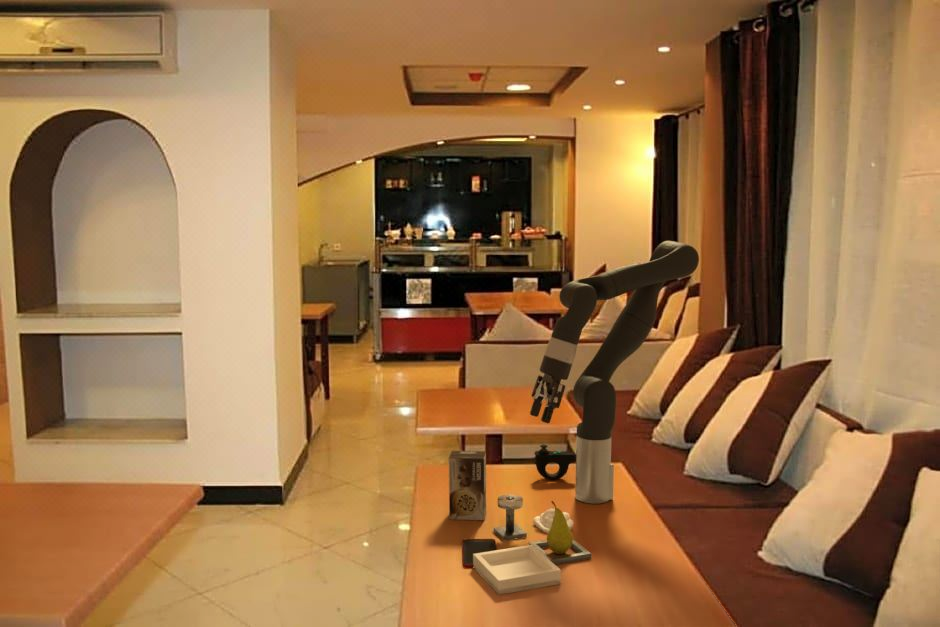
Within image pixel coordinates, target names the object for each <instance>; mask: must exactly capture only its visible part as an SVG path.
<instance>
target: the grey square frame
mask: <svg viewBox="0 0 940 627" xmlns="http://www.w3.org/2000/svg"><path fill="white" fill-rule="evenodd" d="M528 545H533V546H534V547H535V548H536V549H537V550H538V551H539V552H541V553H542V554H543V555H544V556H545V557H546V558H548V559H549V560H550V561H551V562H552V563H553V564H555V565H556V566H557V565H560V564H567V563H568V564H569V563H573V562H574V563H575V562H579V560H580V561H584V560H583V559H586V560H590V559H589V558H591V559H592V552H590V551H589V550H588V549H586V548H585V547H583V545H581V544H580V543H579V542H577V541H576V540H574V539H573V542H572V545H571V547H572V548H571V547H570V548H571V549H572V550H574V551H575V552H576V551H577V552H576V553H572V554H564V555H559V556H551V554H548V553H547V552H546V551H545V550H544V549H543V548H542V547H545V548H549V546H548V543H547V539H544V540H537V541H531V542H528Z"/></svg>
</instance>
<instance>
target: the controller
mask: <svg viewBox="0 0 940 627" xmlns="http://www.w3.org/2000/svg"><path fill="white" fill-rule="evenodd" d="M539 447H540V448H541V449H539V450H535V451H534V456H535V457H534V458H533V461H534V462H533V464H534V465H535V466H536V469H537V470H536V471H537V472H538V473H539V475H540V476H541V477H543V478H544V479H546V480H549V481H557V480H559V479H561V478H563V477H564V476H565V475H567V472H568V471H569V470H568V469H569V466H570V465H571V464H572V463H574V462H575V463H576V451H560V450H559V451H556V450H552V451H551V450H548V449H547V448H548V444H540V446H539ZM551 463H556V464H557V465H558V470H557V471H556V472H555V473H550V472H548V471H547V470H546V468H547V466H548V464H551Z"/></svg>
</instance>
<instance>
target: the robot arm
mask: <svg viewBox="0 0 940 627" xmlns="http://www.w3.org/2000/svg"><path fill="white" fill-rule="evenodd" d="M699 262H700V256H699V252H698V251H697V250H696V248H694V247H693V246H692V245H690V244H687V243H684V242H679V241H678V242H677V241H675V240H664V241H662V242H661V243H659V244H658V245H657V247H655V249H654V251H653V252H652V255H651V256H650V258H649V261H646V262H641V263H633V264H628V265H623V266H619V267H616V268H612V269H610V270H607V271H605V272H601V273H599V274H598V275H597V274H596V275H593V276H589V277H584V278H580V279H575V280H572V281H569V282H568V283H566V284H565V285H563V287H562V288H561V289H560V292H559V295H558V296H559V301H560V303H561V304H562V306H564V307H565V308H566V309H567V311H566V313H565V315H563V316H561V317H558V318H557V319H556V322H555V323H554V327H553V330H552V333H551V336H550V338H549V341H548V342H547V346H546V348H545V352H544V354H543V357H542V360H541V364H540V367H539V372H540V373H542V374H544V375H540V374H538V375H537V378H536V381H535V383H534V387H533V389H532V393H531V397H532V400H533V402H532V405H531V409H530V412H529V415H530V416H533V417H537V418H538V417H539V415H540V412H541V409H542V406H543V403H544V401H545V407H544V409H543V413H542V416H541V418H540V421H541V422H543V423H545V424H550V422H551V419H552V417H553V414H554V411H555V410H556V409H560V406H561V404H562V403H561V402H562V399H563V396H564V392H565V390H566V385H565V384H562V383H561V381H562V380H563V381H567V380H568V379H569V376H570V373H571V369H572V366H573V364H574V361H575V357H576V353H577V348H578V344H579V341H580V338H581V335H582V333H583V332H582V331H583V330H584V327H585V326H586V324H587V323H588V322H589V320H590V318H591V316H592V314H593V313H594V311H595V309H596V306H597V302H598V301H608V300H612V299H614V298H617V297H619V296H622V295H624V294H627V293H630V292H632V291H633V292H632V293H631V295H630V296H629V299H628V300H627V302H626V304H625V305H624V307H623V308H622V310H621V311H620V313H619V314H618V316H617V318H616V319H615V321H614V323H613V324H612V327H611V328H610V331H609V332H608V334H607V335H606V337H605V338H604V340H603V342H602V344H601V345H600V347H599V349H598V351H597V352H596V354H595V355H594V356H593V358H592V359H591V360H590V362H589V364H588V365H587V366H586V368H585V369H584V370H583V371H582V373H581V374H580V375H579V377H578V378H577V379H576V381H575V383H574V385H573V389H572V396H573V399H574V401H575V403H576V404H577V405H578V406H580V407H581V408H582V410H583V411H582V421H581V422H580V423H578V424H577V426H576V436H575V437H576V439H575V441H576V444H575V445H576V446H575V449H576V450H575V454H576V461H575V488H574V491H575V493H574V497H575V499H576V500H577V501H579V502H582V503H586V504H603V503H607V502H609V501H610V500H614V473H615V472H614V471H615V469H614V468H615V465H614V464H613V463H612V433H613V430H614V427H615V421H616V408H617V393H616V390H615V386H614V385H613V383H611V382H610V380H611V378H612V376H613V375H614V373H615V372H616V370H617V369H618V368H619V366H621V364H622V363H623V362H624V361H626V360H627V359H628V358H629V357H631V356H632V355H633V354H634V353H635V352H637V350H639V348H640V347H641V346H642V345H643V343H644V342H645V341H646V340H647V338H648V336H649V334H650V332H651V331H652V329H653V327H654V325H655V324H656V318H657V312H658V301H659V300H658V299H659V295H660V292H661V291H662V288H663V286H664V285H665V284H666V282H667V281H672V280H679V279H681V278H686V277H690V275H693V273H695V271H696V270H697V268H698V267H699V266H698V265H699Z"/></svg>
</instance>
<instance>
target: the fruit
mask: <svg viewBox="0 0 940 627" xmlns="http://www.w3.org/2000/svg"><path fill="white" fill-rule="evenodd" d="M551 504H552V505H553V506H554V509H555V515H554V517H553V523H552V527H551V529H550V531H549V532H548V533H547V535H546V540H547V543H548V546H549V547H548V548H549V549H550V551H551V552H553V553H554V554H558V555H563V554H564V555H565V553H566V552H568V551H569V550H570V549H571V545H572V542H573V540H574V535H573V532H572V531H571V529H569V527H568V524H567V521H566V519H565V517H564V514H563V513H562V512H563V511H562V510H561V509H560V508H557V506H556V504H555V502H554V501H553V500H551Z"/></svg>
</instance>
